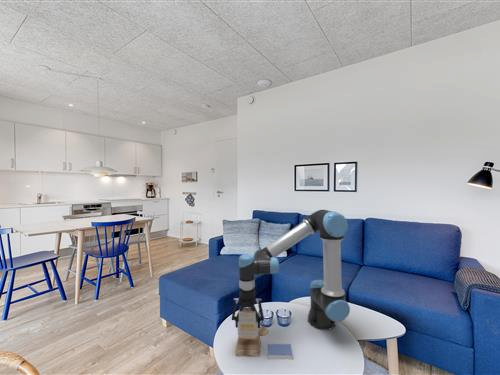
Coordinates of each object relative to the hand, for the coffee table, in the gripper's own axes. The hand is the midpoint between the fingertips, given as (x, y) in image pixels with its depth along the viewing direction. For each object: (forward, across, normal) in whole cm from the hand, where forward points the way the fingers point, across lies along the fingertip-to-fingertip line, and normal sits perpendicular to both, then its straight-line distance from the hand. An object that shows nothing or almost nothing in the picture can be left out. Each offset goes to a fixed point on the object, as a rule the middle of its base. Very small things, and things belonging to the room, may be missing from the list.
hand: (248, 333), depth 113 cm
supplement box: (+1, 0, 0) cm, 1 cm away
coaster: (+7, -6, -13) cm, 16 cm away
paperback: (+7, -15, +3) cm, 17 cm away
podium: (+7, 0, 0) cm, 7 cm away
